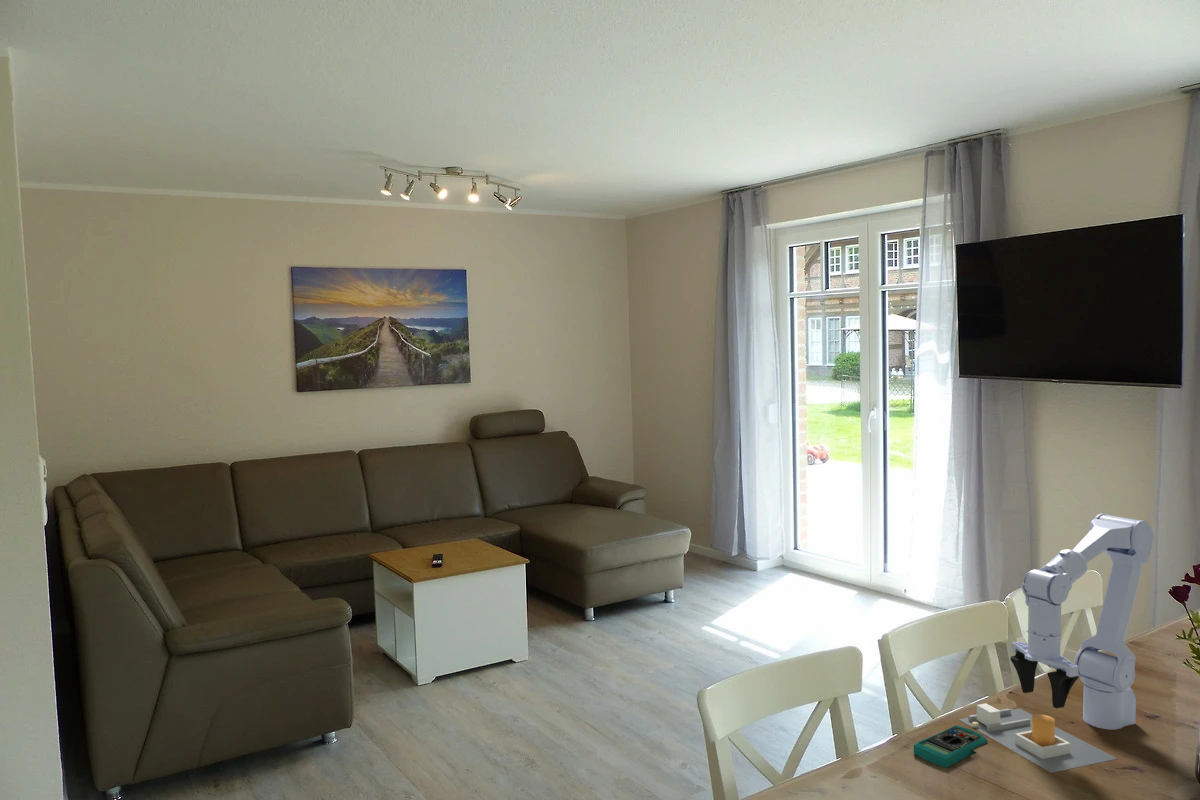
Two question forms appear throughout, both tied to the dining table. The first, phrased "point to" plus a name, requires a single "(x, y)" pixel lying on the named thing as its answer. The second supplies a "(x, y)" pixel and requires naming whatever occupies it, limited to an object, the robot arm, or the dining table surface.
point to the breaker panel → (1019, 739)
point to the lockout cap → (1043, 730)
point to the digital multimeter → (949, 746)
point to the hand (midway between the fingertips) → (1042, 699)
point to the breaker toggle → (987, 714)
